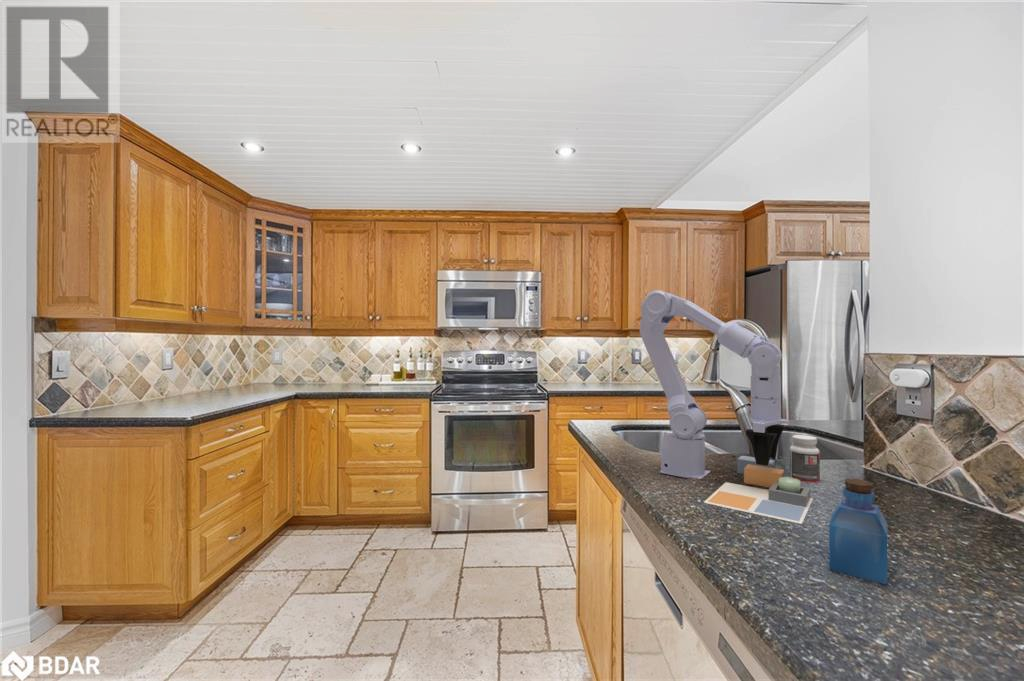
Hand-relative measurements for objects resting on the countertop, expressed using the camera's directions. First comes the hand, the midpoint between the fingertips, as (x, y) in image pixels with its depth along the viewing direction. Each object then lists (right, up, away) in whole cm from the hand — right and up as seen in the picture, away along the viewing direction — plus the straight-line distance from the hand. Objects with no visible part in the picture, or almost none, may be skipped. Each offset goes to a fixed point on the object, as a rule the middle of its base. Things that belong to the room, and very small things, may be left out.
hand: (765, 460), depth 98 cm
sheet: (-7, -6, -10) cm, 13 cm away
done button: (-1, -3, -9) cm, 10 cm away
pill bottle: (+11, -6, +4) cm, 13 cm away
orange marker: (0, -6, 0) cm, 6 cm away
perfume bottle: (-7, -6, -35) cm, 36 cm away
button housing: (-1, -5, -9) cm, 11 cm away
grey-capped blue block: (+2, -6, +8) cm, 10 cm away
